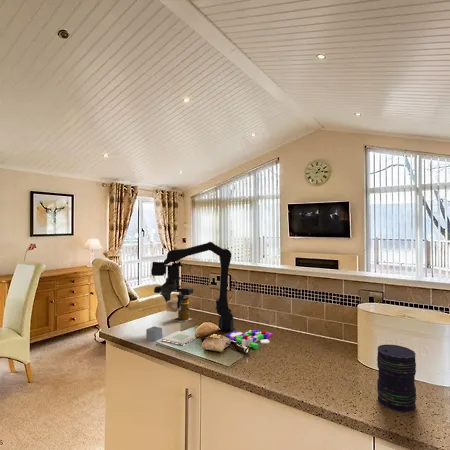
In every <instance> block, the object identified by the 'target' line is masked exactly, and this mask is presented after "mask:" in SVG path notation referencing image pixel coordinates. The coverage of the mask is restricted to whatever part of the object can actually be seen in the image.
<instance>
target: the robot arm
mask: <svg viewBox="0 0 450 450" xmlns="http://www.w3.org/2000/svg"><path fill="white" fill-rule="evenodd" d="M207 251H210V252H212V253H213V254H215V255H217V256H219V264H220V274H219V276H220V277H219V278H220V279H219V295H218V298H215V304H214V305H215V306H214V307H215V308H214V309H215V310H216V313H217V315H219V319H218V329H219V328H220V329H221V331H220V332H223V333H227V334H228V333H232V332H234V330H236V327H235V325H234V320H235V319H234V315H233V311H232V310H231V309H230V308H229V302H228V281H229V268H230V265H231V260H232V252H231V250H229V249H228V248H222V247H220V246H219V245H217V244H215V243H214V242H212V241H208V242H206V243H205V242H204V243H202V244H198V245H195V246H190V247H186V248H177V249H176V248H174V249H170V250H169V251H168V252H167V253H166V258H165V259H164V261H152V264H151V270H150V271H151V272H150V273H151V276H152V277H163V276H165V274H166V275H167V277H166V278H165V282H164V283H163V284H161V285H157V286H154V287H153V292H154V294H159V295H160V296H162V297H163V299H164V301H165V303H166V302H167V301H170V300H171V295H172V293H177V295H176V298H177V300H178V305H177V306H178V308H180V305H181V303H182V300H183V298H184V296H185V297H186V296H191V294H193V293H194V288H193V287H190V286H184V287H181V284H180V280H181V279H182V277H181V276H180V267H183V266H184V263H182V262H181V260H183V259H184V258H186V257H189V256H192V255H196V254H200V253H204V252H207Z"/></svg>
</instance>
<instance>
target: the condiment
mask: <svg viewBox="0 0 450 450" xmlns="http://www.w3.org/2000/svg"><path fill="white" fill-rule="evenodd" d="M190 320H192V318H191V317H190V302H189V297H188V296H186V295H185V296H184V298H183V300H182V303H181V310H179V311H177V317H176V318H172V321H176V322H177V323H182V322H187V321H190Z"/></svg>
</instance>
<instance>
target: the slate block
mask: <svg viewBox="0 0 450 450" xmlns="http://www.w3.org/2000/svg"><path fill="white" fill-rule="evenodd" d="M145 333H146V335H145V337H146V340H149V341H152V342H153V341H154V342H155V341H157V340H158V341H159V340H160V339H162V338H163V327H158V326H151V327H149V328H146V332H145Z"/></svg>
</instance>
